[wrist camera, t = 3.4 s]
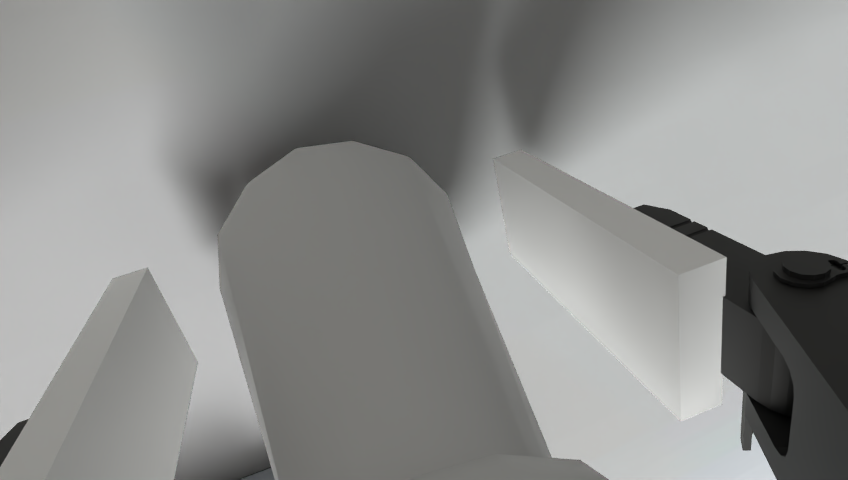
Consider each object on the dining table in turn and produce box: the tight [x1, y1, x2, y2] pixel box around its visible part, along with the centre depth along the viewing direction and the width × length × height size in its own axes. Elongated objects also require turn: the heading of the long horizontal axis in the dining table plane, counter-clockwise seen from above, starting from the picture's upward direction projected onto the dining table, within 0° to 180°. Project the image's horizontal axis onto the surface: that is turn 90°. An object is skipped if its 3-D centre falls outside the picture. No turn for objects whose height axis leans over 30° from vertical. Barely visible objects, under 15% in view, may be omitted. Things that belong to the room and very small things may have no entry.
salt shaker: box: [218, 141, 608, 480], centre depth 9 cm, size 6×6×13 cm
